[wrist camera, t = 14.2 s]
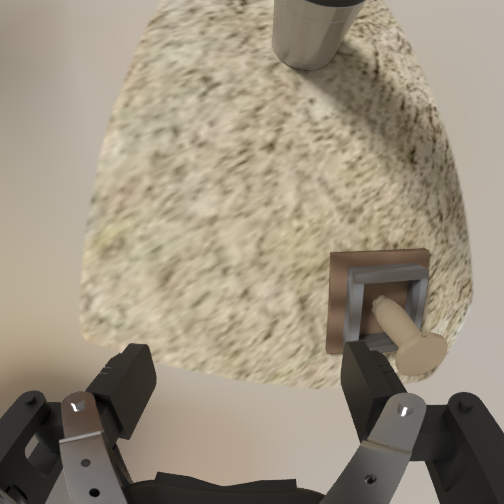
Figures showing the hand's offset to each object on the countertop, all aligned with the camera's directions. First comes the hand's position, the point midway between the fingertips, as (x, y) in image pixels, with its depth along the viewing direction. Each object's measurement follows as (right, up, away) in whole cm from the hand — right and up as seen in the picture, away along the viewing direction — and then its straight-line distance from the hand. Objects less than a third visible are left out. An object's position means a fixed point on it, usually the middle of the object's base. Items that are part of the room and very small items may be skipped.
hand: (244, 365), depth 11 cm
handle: (+20, -3, +30) cm, 36 cm away
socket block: (+20, -3, +31) cm, 37 cm away
